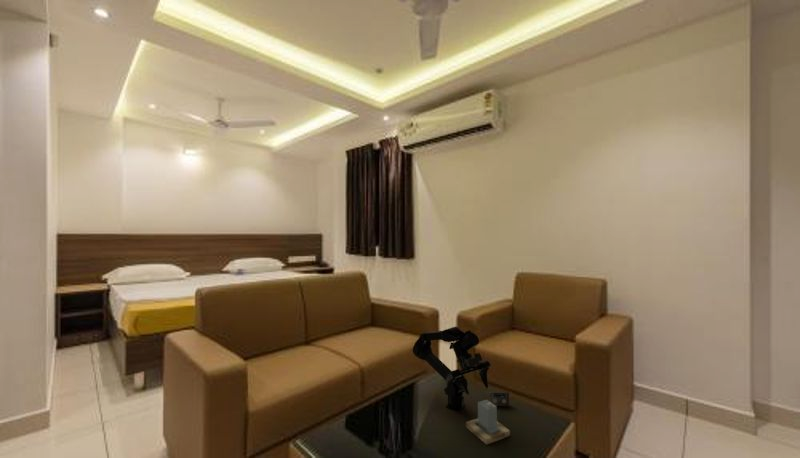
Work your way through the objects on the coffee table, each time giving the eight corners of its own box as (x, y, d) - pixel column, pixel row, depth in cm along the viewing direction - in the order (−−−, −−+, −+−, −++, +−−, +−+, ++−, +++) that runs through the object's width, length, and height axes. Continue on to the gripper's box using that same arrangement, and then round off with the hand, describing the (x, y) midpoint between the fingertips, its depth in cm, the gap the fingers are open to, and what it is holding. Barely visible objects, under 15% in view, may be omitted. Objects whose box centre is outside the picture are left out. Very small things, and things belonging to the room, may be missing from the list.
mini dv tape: (508, 404, 159) (508, 391, 159) (508, 406, 158) (508, 393, 158) (489, 403, 160) (489, 391, 160) (490, 405, 159) (490, 392, 159)
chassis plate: (466, 427, 143) (466, 422, 143) (488, 419, 148) (488, 414, 148) (486, 444, 132) (486, 439, 132) (509, 435, 137) (509, 430, 137)
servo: (475, 426, 143) (475, 398, 143) (484, 423, 145) (484, 395, 145) (490, 439, 135) (490, 408, 134) (499, 435, 137) (499, 405, 136)
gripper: (449, 353, 144) (465, 392, 136) (487, 342, 151) (504, 379, 142) (441, 362, 153) (456, 399, 144) (478, 351, 159) (493, 386, 151)
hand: (478, 391), depth 145 cm, fingers open, 9 cm apart
